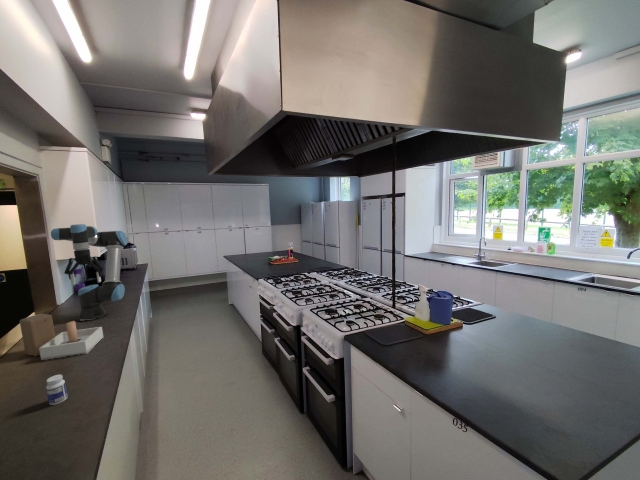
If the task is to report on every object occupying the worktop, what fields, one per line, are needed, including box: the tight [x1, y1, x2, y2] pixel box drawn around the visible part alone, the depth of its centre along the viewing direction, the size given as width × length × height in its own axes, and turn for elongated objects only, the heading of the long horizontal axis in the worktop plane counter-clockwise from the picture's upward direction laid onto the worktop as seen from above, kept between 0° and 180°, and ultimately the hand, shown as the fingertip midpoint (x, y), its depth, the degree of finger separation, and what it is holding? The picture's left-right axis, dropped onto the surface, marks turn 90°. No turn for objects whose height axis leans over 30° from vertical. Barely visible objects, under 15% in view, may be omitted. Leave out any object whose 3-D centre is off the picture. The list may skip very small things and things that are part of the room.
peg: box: [65, 320, 78, 343], centre depth 160 cm, size 4×4×14 cm
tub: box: [39, 326, 104, 361], centre depth 161 cm, size 20×20×7 cm
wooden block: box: [19, 313, 56, 357], centre depth 158 cm, size 10×10×20 cm
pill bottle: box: [45, 374, 68, 406], centre depth 116 cm, size 6×6×10 cm
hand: (86, 283), depth 179 cm, fingers open, 13 cm apart
